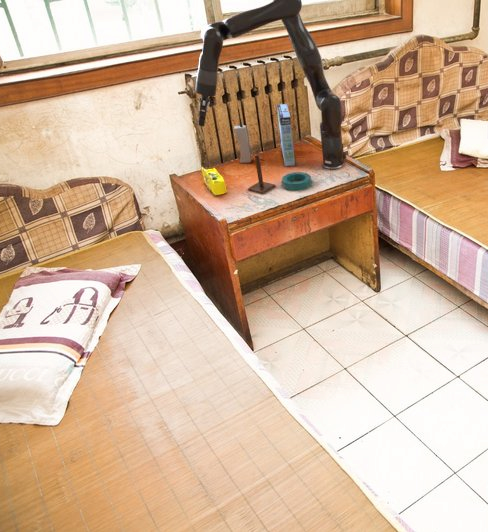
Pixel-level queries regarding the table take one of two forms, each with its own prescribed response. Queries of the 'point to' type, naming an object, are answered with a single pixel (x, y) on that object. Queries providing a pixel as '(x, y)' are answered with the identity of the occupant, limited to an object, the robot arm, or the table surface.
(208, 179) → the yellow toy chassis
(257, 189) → the brown peg stand
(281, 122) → the gum box
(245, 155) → the vintage mobile phone
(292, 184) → the teal ring
